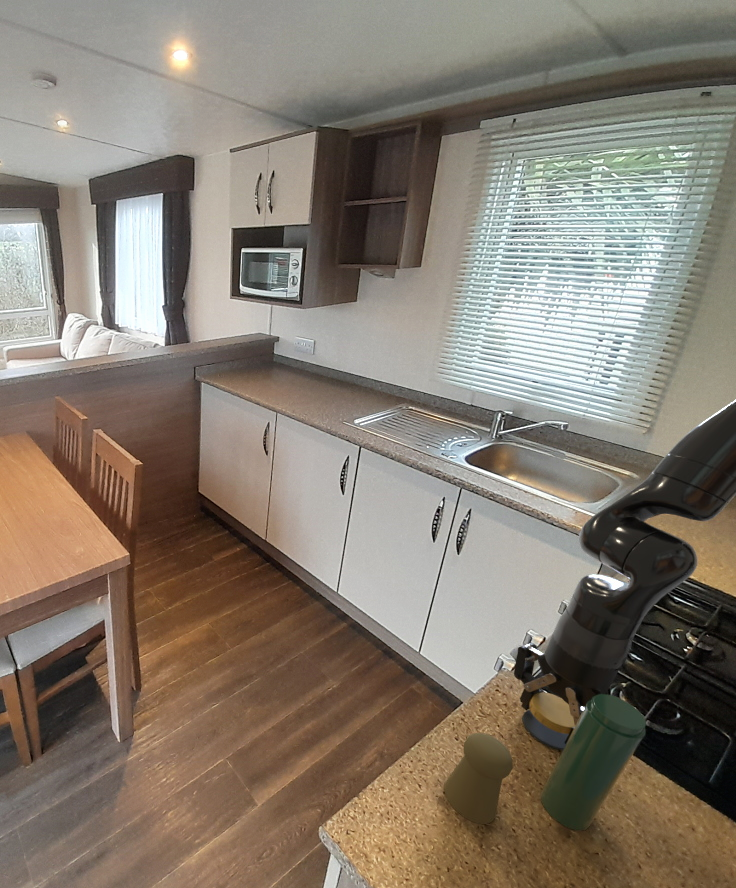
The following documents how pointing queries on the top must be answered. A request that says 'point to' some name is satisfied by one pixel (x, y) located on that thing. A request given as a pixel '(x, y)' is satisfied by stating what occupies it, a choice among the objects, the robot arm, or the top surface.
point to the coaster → (543, 732)
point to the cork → (479, 778)
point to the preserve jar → (592, 760)
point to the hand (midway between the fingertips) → (548, 724)
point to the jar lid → (552, 712)
